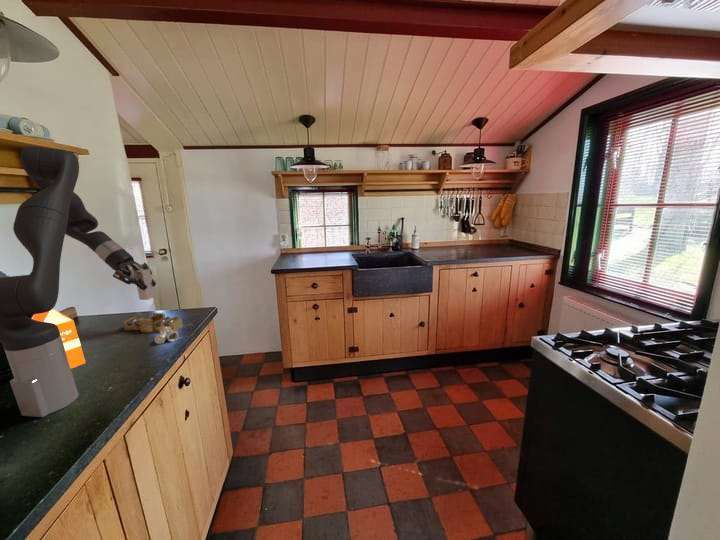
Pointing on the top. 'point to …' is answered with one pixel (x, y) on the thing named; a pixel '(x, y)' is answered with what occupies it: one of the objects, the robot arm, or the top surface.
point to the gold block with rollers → (152, 323)
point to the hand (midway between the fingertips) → (150, 286)
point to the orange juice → (65, 335)
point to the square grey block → (146, 279)
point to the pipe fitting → (166, 335)
